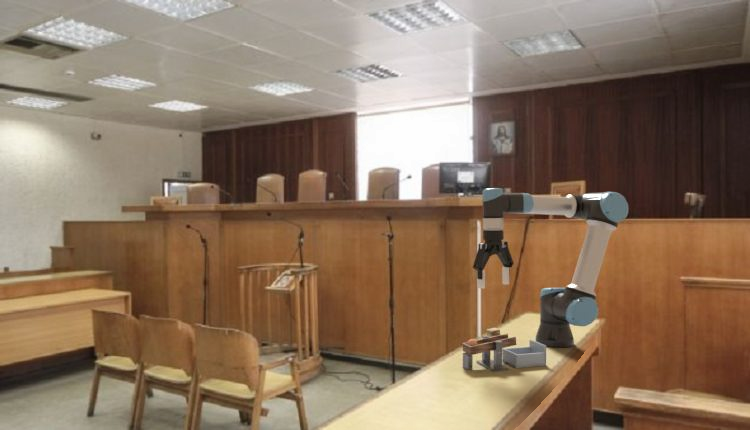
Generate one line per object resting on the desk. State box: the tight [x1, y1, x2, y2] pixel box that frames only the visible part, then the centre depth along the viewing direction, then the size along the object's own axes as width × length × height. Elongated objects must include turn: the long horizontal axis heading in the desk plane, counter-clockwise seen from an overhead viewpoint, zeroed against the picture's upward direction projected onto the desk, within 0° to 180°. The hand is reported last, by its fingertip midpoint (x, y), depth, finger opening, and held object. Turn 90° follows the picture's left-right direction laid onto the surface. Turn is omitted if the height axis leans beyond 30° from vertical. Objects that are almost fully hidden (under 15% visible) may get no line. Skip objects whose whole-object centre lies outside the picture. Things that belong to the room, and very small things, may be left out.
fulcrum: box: [462, 335, 509, 372], centre depth 186 cm, size 13×11×10 cm
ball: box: [467, 338, 477, 346], centre depth 185 cm, size 3×3×3 cm
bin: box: [502, 339, 547, 369], centre depth 192 cm, size 12×9×7 cm
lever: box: [461, 327, 517, 356], centre depth 191 cm, size 18×14×3 cm
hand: (494, 286), depth 201 cm, fingers open, 13 cm apart
